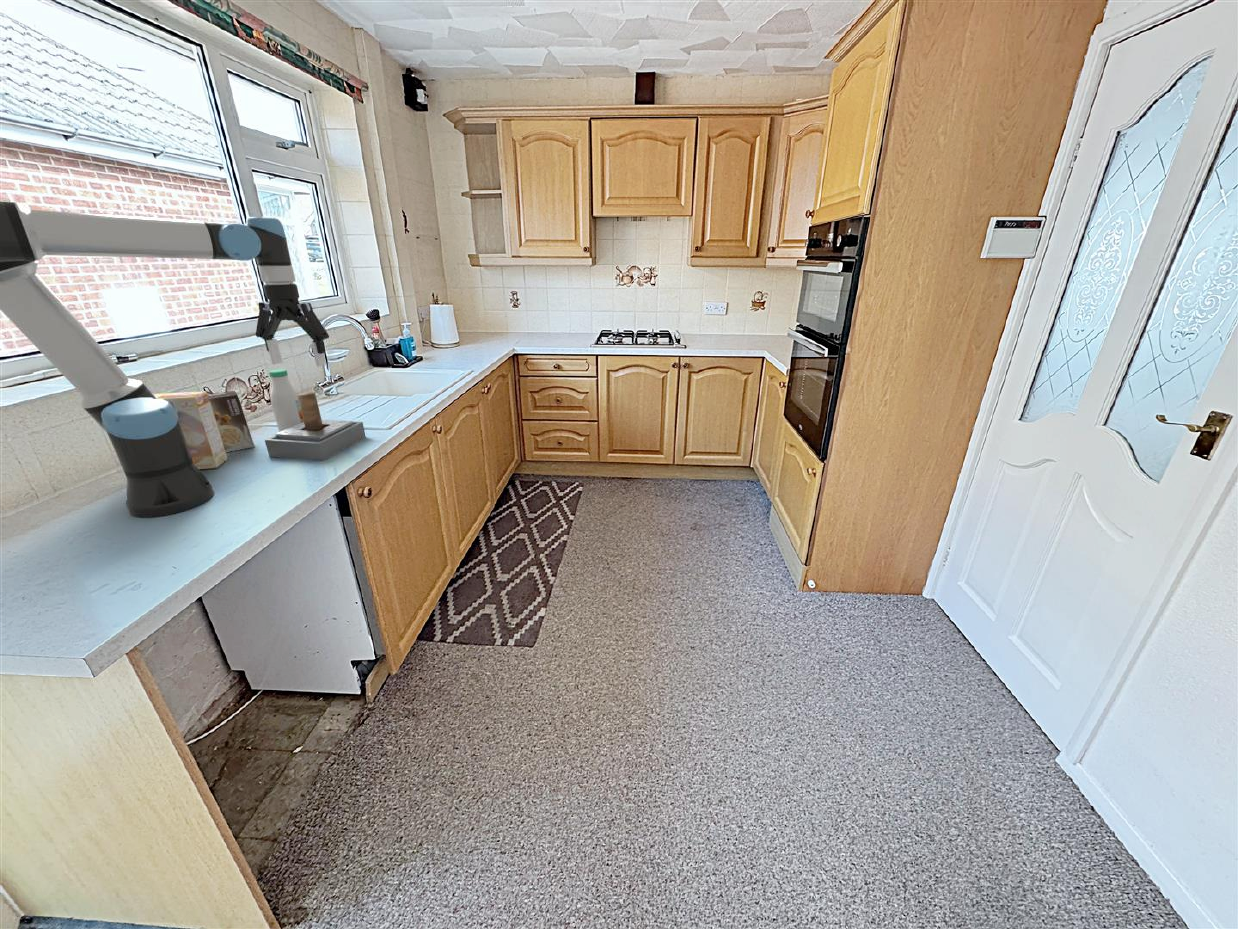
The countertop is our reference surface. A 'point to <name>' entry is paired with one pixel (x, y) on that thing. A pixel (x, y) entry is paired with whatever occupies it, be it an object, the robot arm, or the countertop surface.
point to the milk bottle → (284, 400)
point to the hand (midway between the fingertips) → (299, 364)
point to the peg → (310, 411)
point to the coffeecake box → (198, 427)
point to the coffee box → (231, 421)
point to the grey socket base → (316, 444)
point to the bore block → (301, 434)
